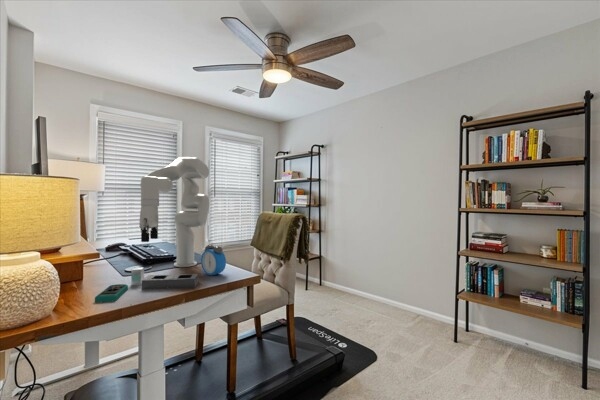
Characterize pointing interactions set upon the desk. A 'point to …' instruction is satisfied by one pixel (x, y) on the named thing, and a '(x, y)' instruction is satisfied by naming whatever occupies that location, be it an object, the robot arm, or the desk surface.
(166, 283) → the rail
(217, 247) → the alarm clock
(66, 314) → the desk surface
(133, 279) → the white green box
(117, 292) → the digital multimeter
